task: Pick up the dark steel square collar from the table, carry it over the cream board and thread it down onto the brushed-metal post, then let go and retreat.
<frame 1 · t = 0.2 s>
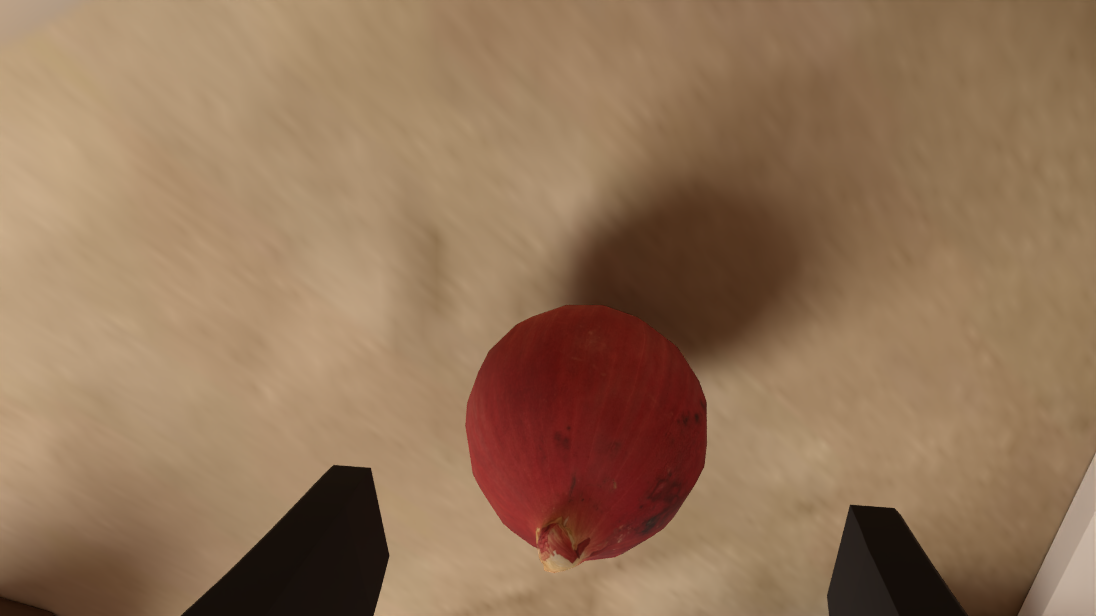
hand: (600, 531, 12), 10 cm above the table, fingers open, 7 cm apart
onion: (599, 333, 23), on the table
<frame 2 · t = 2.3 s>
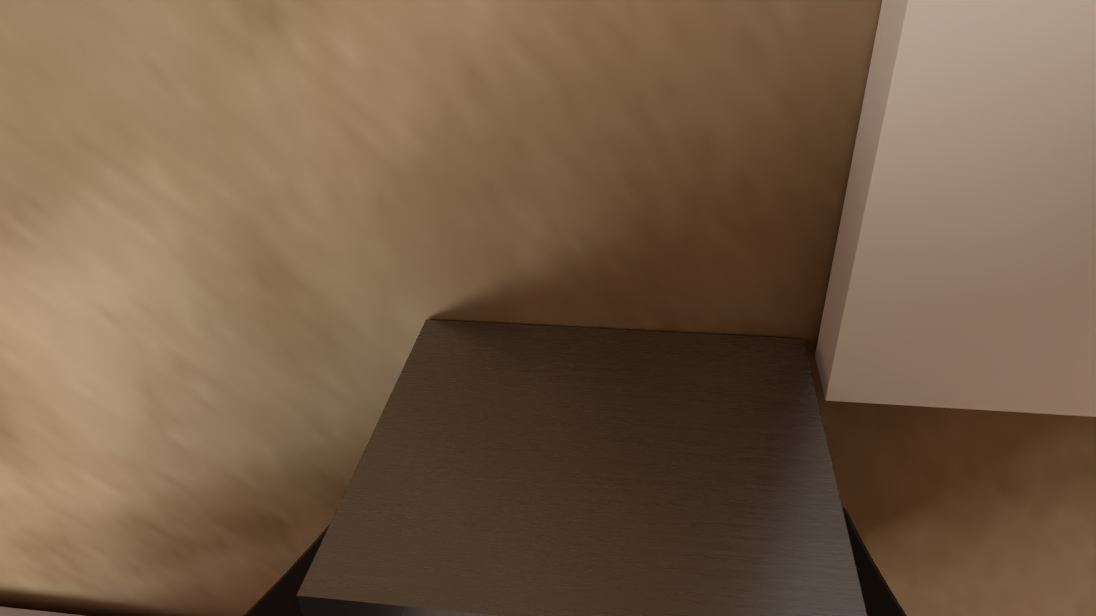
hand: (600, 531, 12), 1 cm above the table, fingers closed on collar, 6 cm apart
collar: (607, 465, 13), on the table, touching gripper
when the fingers open (4 cm above the table, at t = 5.7 s): collar drops 1 cm, resting on post block.
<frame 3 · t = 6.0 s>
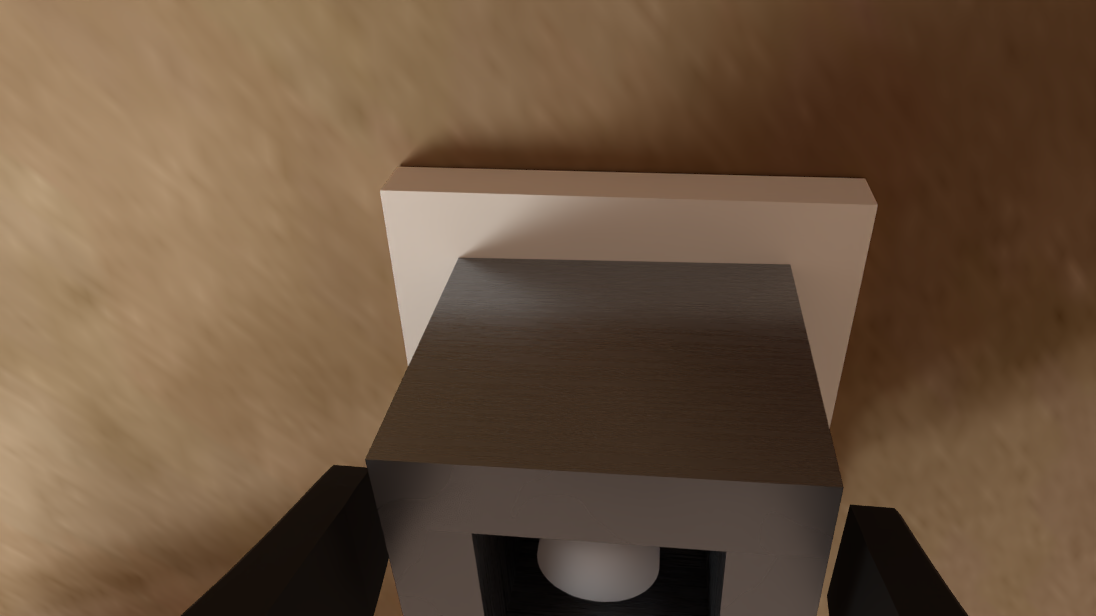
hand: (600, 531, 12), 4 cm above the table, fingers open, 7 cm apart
post block: (618, 359, 16), on the table
collar: (620, 390, 15), point 1 cm above the table, touching post block
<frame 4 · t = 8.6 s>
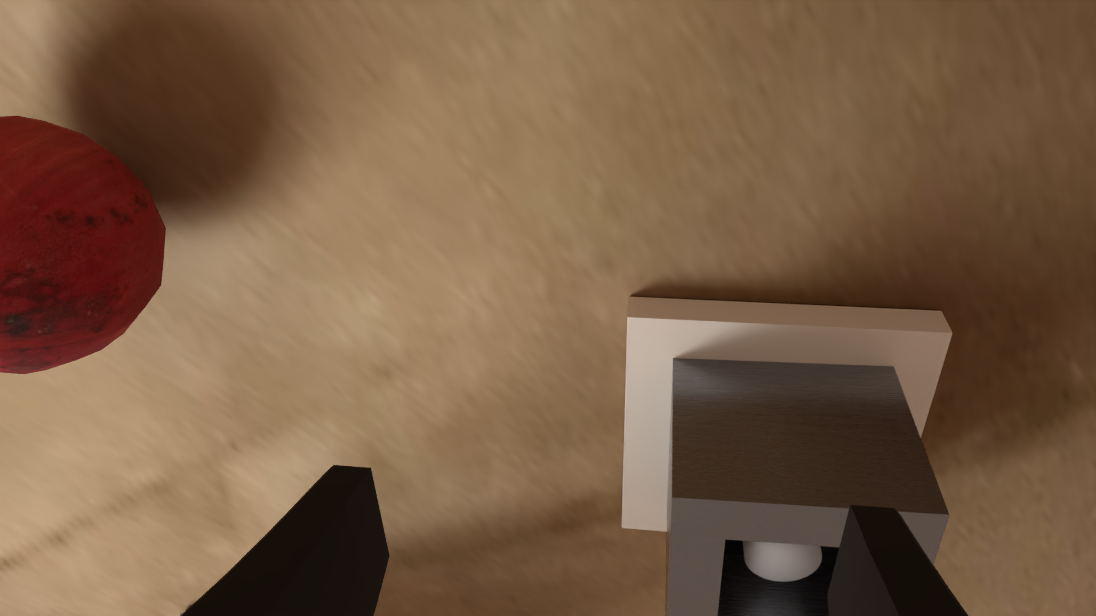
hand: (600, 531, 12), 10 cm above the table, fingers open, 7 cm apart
post block: (763, 418, 23), on the table
collar: (770, 441, 22), point 1 cm above the table, touching post block
onion: (121, 177, 22), on the table
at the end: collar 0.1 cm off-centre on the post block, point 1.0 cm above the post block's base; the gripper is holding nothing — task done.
